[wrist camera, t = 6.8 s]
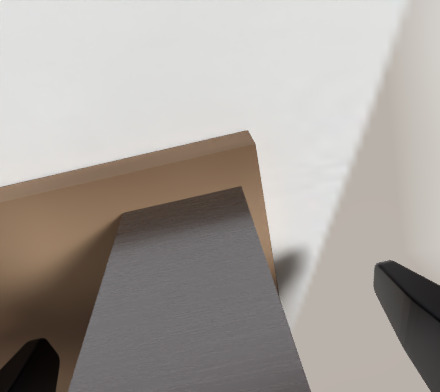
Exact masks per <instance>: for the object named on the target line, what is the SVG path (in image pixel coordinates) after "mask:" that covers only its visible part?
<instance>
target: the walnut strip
mask: <svg viewBox="0 0 440 392" xmlns="http://www.w3.org/2000/svg"><path fill="white" fill-rule="evenodd" d="M39 338H45V339H47V340H48V342H49V343H50V344H51V346H52V347H53V348H54V349H55V351H56V352H57V353H58V355H59V358H60V367H59V374H58V381H57V387H56V392H311V391H310V388H309V385H308V382H307V379H306V376H305V373H304V370H303V367H302V364H301V361H300V358H299V355H298V352H297V349H296V347H295V344H294V340H293V337H292V334H291V331H290V328H289V325H288V323H287V320H286V317H285V314H284V311H283V308H282V305H281V302H280V299H279V293H278V287H277V280H276V274H275V267H274V261H273V254H272V248H271V242H270V235H269V229H268V222H267V216H266V209H265V203H264V196H263V190H262V184H261V177H260V171H259V164H258V158H257V151H256V145H255V142H254V141H253V139H252V137H251V135H250V133H249V132H248V130H247V131H242V132H238V133H234V134H229V135H225V136H221V137H216V138H212V139H208V140H203V141H199V142H195V143H190V144H186V145H182V146H177V147H173V148H169V149H164V150H160V151H156V152H151V153H147V154H143V155H138V156H134V157H130V158H125V159H121V160H117V161H112V162H108V163H104V164H99V165H95V166H91V167H86V168H82V169H78V170H73V171H69V172H65V173H60V174H56V175H52V176H47V177H43V178H39V179H34V180H30V181H26V182H21V183H17V184H12V185H8V186H4V187H0V369H1V368H2V367H3V366H4V365H5V364H6V363H7V362H8V361H9V360H10V359H11V358H12V357H13V356H14V355H15V354H16V353H17V352H18V351H19V349H20V348H21V347H22V346H23V345H24V344H25V343H27V342H28V341H30V340H34V339H39Z"/></svg>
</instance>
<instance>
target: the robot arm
mask: <svg viewBox="0 0 440 392" xmlns="http://www.w3.org/2000/svg"><path fill="white" fill-rule="evenodd" d="M374 290H375V293H376V295H377V297H378V299H379V301H380V303H381V305H382V307H383V309H384V311H385V313H386V315H387V317H388V319H389V321H390V323H391V325H392V327H393V329H394V331H395V332H396V335H397V337H398V339H399V341H400V342H401V344H402V346H403V348H404V350H405V351H406V353H407V355H408V356H409V358H410V359H411V361H412V362H413V364H414V366H415V367H416V369H417V370H418V372H419V373H420V375H421V377H422V378H423V380H424V381H425V383H426V384H427V386H428V388H429V389H430V391H431V392H440V285H437V284H436V283H434V282H432V281H430V280H428V279H426V278H425V277H423V276H421V275H419V274H417V273H415V272H413V271H411V270H410V269H408V268H405V267H404V266H402V265H400V264H398V263H396V262H394V261H391V260H389V261H384V262H379V263H377V264H376V265H375V269H374ZM59 367H60V358H59V355H58V353H57V352H56V351H55V349H54V348H53V347H52V346H51V344H50V343H49V342H48V340H47V339H45V338H39V339H34V340H30V341H28V342H27V343H25V344H24V345H23V346H22V347H21V348H20V349H19V351H18V352H17V353H16V354H15V355H14V356H13V357H12V358H11V359H10V360H9V361H8V362H7V363H6V364H5V365H4V366H3V367H2V368H1V369H0V392H56V387H57V381H58V374H59Z"/></svg>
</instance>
